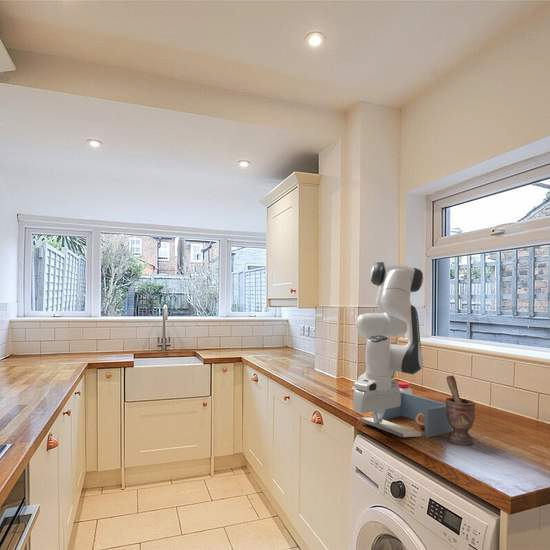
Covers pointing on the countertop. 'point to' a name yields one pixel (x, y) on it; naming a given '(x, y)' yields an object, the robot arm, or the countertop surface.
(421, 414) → the fruit slice
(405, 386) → the pill bottle
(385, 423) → the white rectangular panel
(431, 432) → the crate
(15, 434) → the countertop surface
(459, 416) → the mortar and pestle
